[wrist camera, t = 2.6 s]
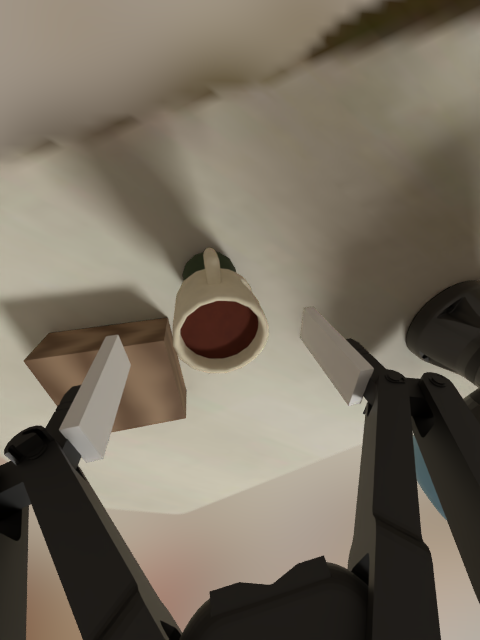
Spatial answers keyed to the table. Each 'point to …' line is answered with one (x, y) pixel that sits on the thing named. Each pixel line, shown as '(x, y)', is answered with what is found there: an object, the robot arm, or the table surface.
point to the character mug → (217, 316)
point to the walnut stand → (143, 378)
